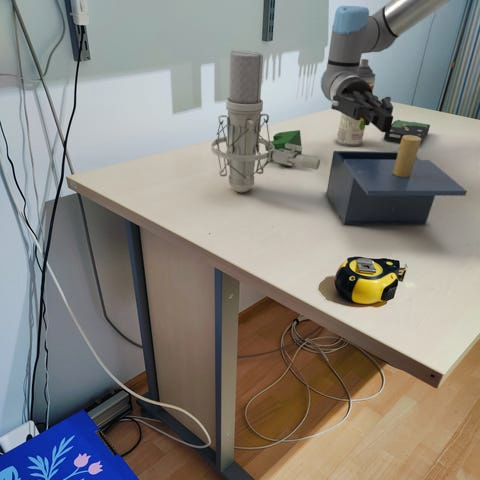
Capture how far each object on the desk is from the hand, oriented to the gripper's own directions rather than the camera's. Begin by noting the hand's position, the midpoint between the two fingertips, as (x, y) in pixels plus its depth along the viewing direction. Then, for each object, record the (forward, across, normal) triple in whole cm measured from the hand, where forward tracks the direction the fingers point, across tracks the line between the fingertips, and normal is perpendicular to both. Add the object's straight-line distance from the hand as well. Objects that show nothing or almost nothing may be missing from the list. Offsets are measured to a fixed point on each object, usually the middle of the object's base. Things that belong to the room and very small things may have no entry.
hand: (387, 124), depth 78 cm
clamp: (-25, +14, -15) cm, 32 cm away
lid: (+11, 0, -6) cm, 12 cm away
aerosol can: (-39, -7, -15) cm, 42 cm away
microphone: (-3, +22, -15) cm, 27 cm away
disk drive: (-45, -26, -15) cm, 54 cm away
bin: (+3, 0, -15) cm, 15 cm away
